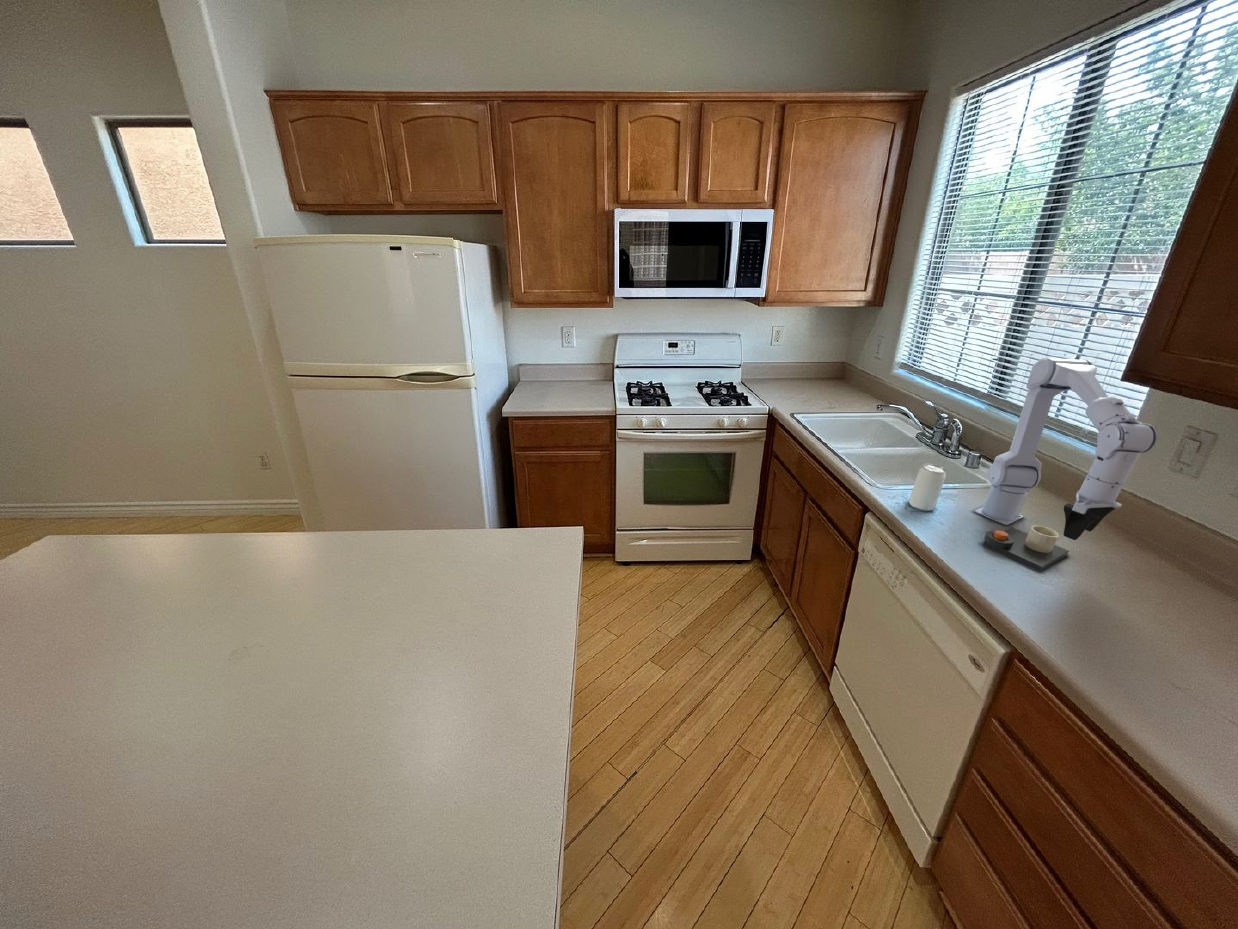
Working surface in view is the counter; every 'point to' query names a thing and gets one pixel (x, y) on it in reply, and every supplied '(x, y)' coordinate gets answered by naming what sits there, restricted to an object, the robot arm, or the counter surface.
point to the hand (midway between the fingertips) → (1077, 533)
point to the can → (927, 487)
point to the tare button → (1000, 535)
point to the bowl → (1041, 539)
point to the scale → (1023, 549)
